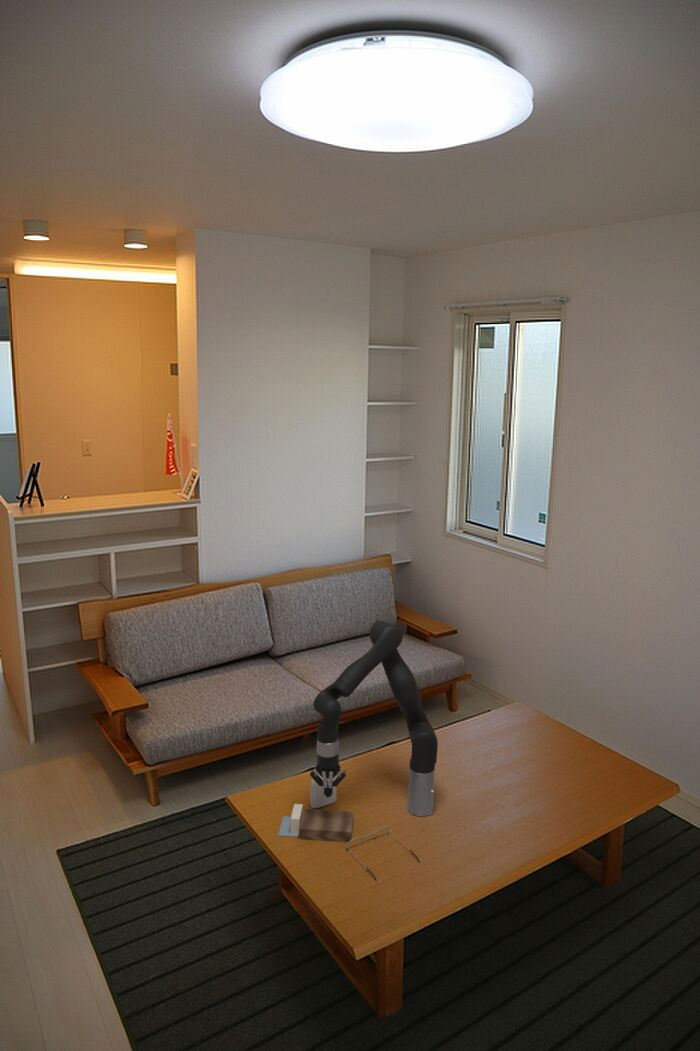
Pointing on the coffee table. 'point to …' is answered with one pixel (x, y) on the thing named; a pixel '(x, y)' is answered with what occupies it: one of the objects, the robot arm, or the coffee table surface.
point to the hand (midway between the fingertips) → (328, 795)
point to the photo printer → (320, 795)
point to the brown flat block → (326, 825)
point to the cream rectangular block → (296, 818)
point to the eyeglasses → (376, 838)
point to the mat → (286, 828)
